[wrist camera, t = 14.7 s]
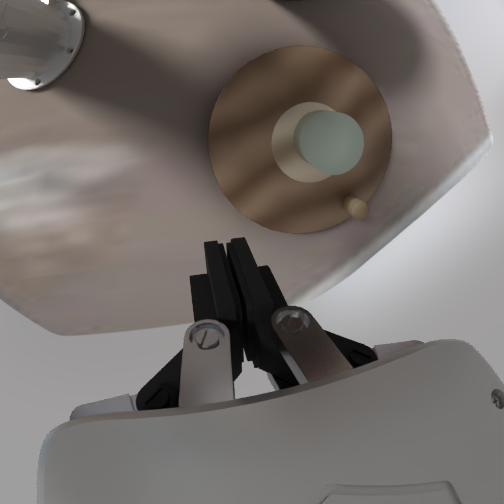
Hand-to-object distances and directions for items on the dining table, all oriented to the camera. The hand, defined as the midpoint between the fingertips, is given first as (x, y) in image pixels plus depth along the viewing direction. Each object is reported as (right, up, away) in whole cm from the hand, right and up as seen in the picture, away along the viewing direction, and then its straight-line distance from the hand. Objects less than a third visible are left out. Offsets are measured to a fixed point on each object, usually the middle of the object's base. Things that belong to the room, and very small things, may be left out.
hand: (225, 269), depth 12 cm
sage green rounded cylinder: (+9, +14, +19) cm, 25 cm away
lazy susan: (+8, +14, +20) cm, 26 cm away
